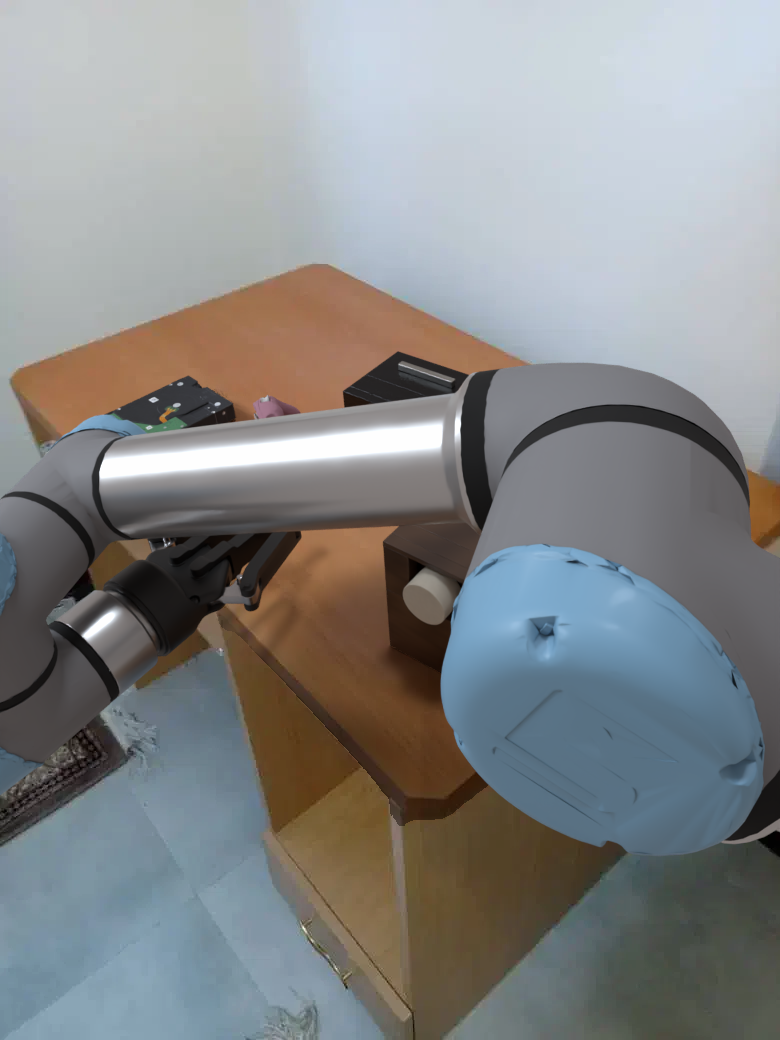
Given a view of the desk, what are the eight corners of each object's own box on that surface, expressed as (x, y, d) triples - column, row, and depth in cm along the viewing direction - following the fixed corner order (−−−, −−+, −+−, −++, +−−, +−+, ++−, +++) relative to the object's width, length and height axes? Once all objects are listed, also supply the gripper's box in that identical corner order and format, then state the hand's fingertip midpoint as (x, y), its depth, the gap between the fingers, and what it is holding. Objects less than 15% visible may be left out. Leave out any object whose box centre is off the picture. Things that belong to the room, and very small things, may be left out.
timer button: (462, 612, 64) (463, 577, 61) (444, 632, 62) (444, 598, 60) (421, 592, 66) (420, 557, 63) (403, 611, 64) (401, 576, 61)
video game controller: (273, 434, 100) (241, 397, 96) (303, 413, 100) (271, 375, 95) (290, 479, 93) (255, 442, 88) (322, 458, 93) (288, 419, 88)
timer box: (541, 623, 73) (554, 518, 64) (484, 697, 67) (490, 592, 58) (450, 580, 78) (451, 476, 69) (389, 645, 72) (382, 541, 63)
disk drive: (191, 392, 106) (92, 440, 98) (187, 374, 104) (85, 421, 97) (238, 421, 100) (137, 473, 93) (234, 402, 99) (131, 454, 91)
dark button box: (486, 463, 91) (490, 374, 84) (438, 510, 85) (437, 420, 78) (401, 430, 97) (397, 344, 89) (350, 472, 91) (341, 384, 83)
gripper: (92, 620, 68) (278, 477, 81) (197, 692, 62) (379, 524, 75) (64, 557, 63) (268, 416, 76) (176, 628, 57) (375, 461, 70)
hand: (323, 470), depth 76 cm, fingers closed
